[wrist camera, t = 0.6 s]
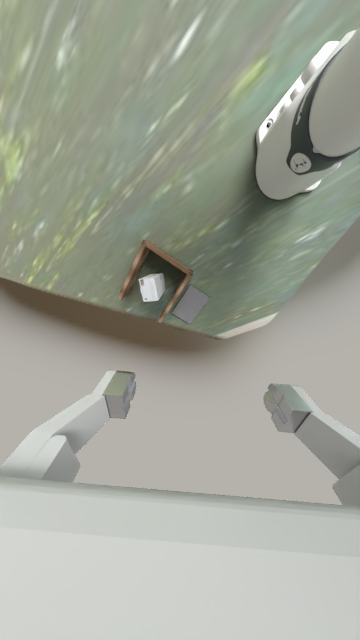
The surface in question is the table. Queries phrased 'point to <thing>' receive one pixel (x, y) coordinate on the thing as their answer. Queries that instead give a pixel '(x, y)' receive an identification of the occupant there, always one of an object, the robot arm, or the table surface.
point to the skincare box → (152, 287)
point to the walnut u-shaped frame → (137, 266)
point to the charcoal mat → (190, 304)
